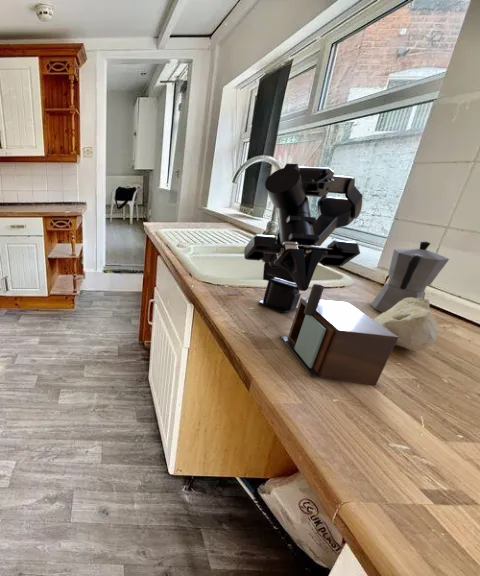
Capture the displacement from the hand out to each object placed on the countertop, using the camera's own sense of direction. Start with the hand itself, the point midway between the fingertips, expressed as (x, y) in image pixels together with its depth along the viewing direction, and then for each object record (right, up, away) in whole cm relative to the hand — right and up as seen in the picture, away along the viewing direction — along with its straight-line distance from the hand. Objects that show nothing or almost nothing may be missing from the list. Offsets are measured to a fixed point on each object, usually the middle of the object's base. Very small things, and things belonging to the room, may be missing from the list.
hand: (303, 290), depth 57 cm
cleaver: (-2, -12, -2) cm, 12 cm away
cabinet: (+3, -13, -1) cm, 13 cm away
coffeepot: (+36, -6, +20) cm, 42 cm away
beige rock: (+23, -10, +7) cm, 26 cm away
